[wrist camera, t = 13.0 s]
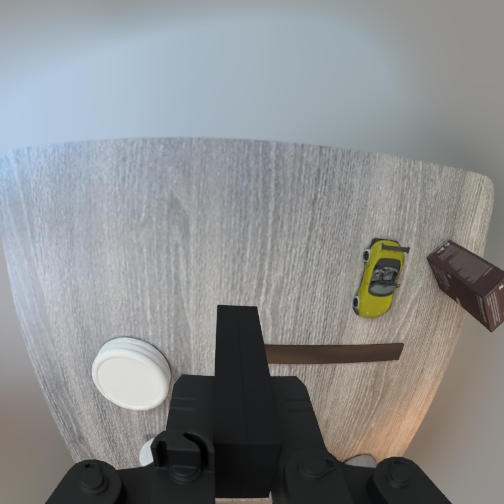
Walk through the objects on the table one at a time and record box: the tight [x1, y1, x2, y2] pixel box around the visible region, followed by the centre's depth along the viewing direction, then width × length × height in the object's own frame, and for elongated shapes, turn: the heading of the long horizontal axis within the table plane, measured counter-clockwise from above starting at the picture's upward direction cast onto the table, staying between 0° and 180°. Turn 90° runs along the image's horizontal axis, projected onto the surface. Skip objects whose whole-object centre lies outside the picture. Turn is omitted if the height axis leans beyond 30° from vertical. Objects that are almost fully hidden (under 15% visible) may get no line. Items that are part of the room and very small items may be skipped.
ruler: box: [264, 343, 404, 364], centre depth 39 cm, size 3×22×1 cm, turn 84°
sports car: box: [353, 238, 410, 318], centre depth 35 cm, size 5×10×3 cm, turn 173°
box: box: [427, 240, 504, 332], centre depth 31 cm, size 6×4×12 cm
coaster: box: [92, 337, 171, 410], centre depth 36 cm, size 10×10×4 cm
